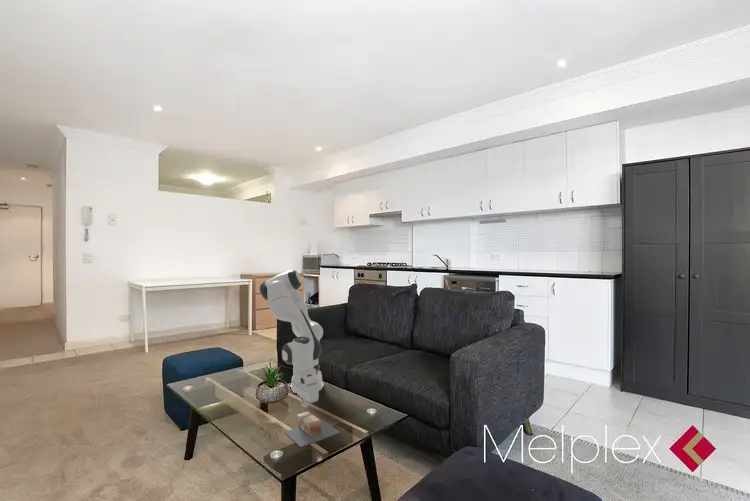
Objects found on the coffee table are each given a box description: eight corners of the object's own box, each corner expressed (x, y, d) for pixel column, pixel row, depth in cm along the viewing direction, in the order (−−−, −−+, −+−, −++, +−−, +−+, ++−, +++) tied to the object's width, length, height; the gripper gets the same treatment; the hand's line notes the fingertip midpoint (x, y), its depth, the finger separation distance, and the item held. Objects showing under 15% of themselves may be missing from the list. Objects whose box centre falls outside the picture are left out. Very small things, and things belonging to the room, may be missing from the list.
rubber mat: (284, 432, 156) (284, 431, 156) (322, 419, 167) (322, 419, 167) (300, 447, 143) (300, 446, 143) (340, 432, 154) (340, 431, 154)
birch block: (297, 414, 161) (310, 424, 152) (307, 411, 164) (320, 420, 155) (297, 426, 161) (310, 436, 151) (308, 422, 164) (321, 432, 155)
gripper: (287, 370, 167) (288, 401, 167) (307, 382, 151) (308, 416, 151) (300, 367, 171) (301, 397, 171) (320, 378, 154) (322, 411, 154)
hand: (304, 406), depth 160 cm, fingers closed
